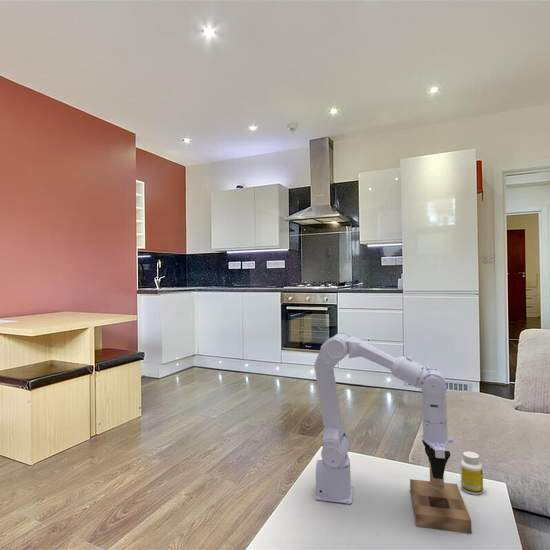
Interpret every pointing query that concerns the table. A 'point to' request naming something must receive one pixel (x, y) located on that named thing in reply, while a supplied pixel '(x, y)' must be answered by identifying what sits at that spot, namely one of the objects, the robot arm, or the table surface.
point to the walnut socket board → (439, 507)
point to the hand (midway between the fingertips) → (436, 474)
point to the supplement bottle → (471, 474)
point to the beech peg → (436, 481)
